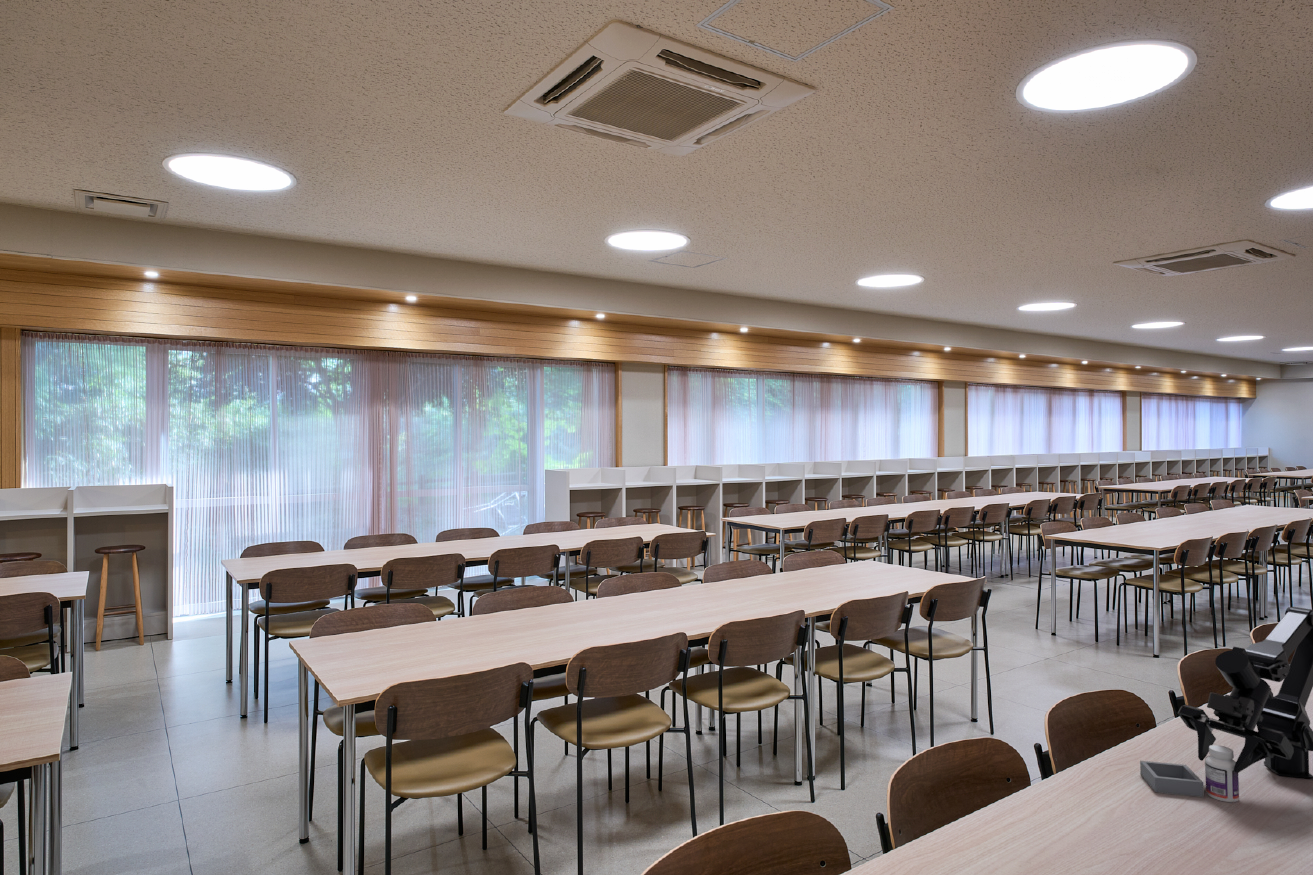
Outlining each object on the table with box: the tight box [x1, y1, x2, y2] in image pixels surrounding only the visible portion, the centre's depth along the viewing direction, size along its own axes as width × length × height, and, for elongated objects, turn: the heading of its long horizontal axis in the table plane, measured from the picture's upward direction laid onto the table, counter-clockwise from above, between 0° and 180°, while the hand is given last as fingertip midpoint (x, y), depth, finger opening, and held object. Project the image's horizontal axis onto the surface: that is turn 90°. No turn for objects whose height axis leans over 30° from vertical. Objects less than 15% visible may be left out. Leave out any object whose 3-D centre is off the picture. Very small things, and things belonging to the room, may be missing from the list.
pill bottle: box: [1204, 744, 1240, 803], centre depth 150 cm, size 5×5×10 cm
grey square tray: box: [1139, 760, 1205, 798], centre depth 155 cm, size 9×9×3 cm
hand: (1217, 765), depth 149 cm, fingers open, 6 cm apart
